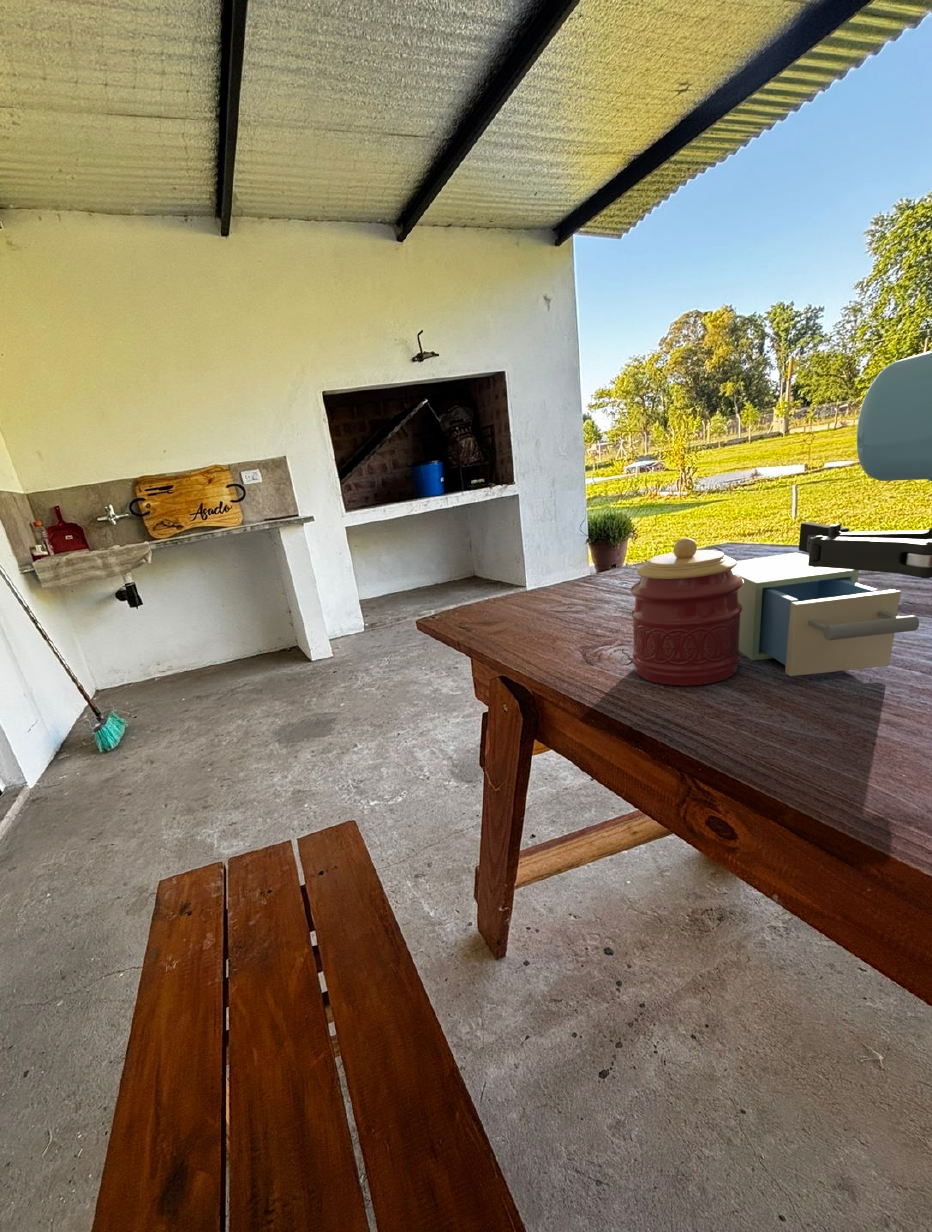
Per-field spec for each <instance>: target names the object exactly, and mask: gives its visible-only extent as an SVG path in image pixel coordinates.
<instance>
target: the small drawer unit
mask: <svg viewBox="0 0 932 1232" xmlns="http://www.w3.org/2000/svg"><path fill="white" fill-rule="evenodd" d="M735 561H736V566H735V567H734V568H732V571H733V573H734V574H736V575H738V576H740V577H741V578H742V579H743V581H744V583H743V585H742V586H741V587H740V588H739V589H738V602H739V603H740V604H741V605H742V611H741V613H740V633H739V650H740V654H743V655H744V656H745V657H747V659H749V660H751V661H760V660H770V659H774V658H773V657H772V656H770V655H769V654H767V653H766V652H764V651H763V650H761V649H760V648H759V641H760V624H761V608H762V591H763V589H762V588H768V587H776V586H783V585H791V584H798V583H806V582H813V581H821V580H828V579H836V578H842V579H845V580H849V581H852V582H855V583H859V582H858V581H859V573H860V570H850V569H837V568H825V567H812V566H808V561H809V555H807V554H803V553H800V552H789V553H784V554H783V553H782V554H777V555H769V556H762V557H756V558H755V557H754V558H748V559H741V560H735Z"/></svg>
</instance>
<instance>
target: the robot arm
mask: <svg viewBox="0 0 932 1232" xmlns="http://www.w3.org/2000/svg"><path fill="white" fill-rule="evenodd" d="M856 451H857V457H858V462H859V464H860V467H861V468H862V470H863V472H864V473H865V474H866V475H867V476H868V477H869V478H871V479H874V480H877V481H879V482H880V481H881V482H894V481H895V482H896V481H897V482H898V481H916V480H926V481H927V480H928V481H930V482H932V349H931V350H930V351H926V352H923V353H919V354H916V355H913V356H909V357H906V358H903V359H899V360H896V361H894V362H892V363H890V364H888V365H887V366H885V367H884V368H883V369H882V370H881V371H880V372H879V373H878V374H877V375H876V376H875V378H874V379H873V381H872V383H871V384H870V386H869V388H868V390H867V391H866V393H865V396H864V398H863V402H862V404H861V407H860V411H859V415H858V421H857V428H856ZM799 528H800V529H799V540H798V541H799V542H798V551H800V552H804V553H807V554H808V556H809V561H808V566H812V567H825V568H837V569H850V570H859V571H861V572H862V571H864V572H876V573H887V574H888V573H890V574H898V575H899V574H900V575H905V576H911V577H915V578H920V579H924V580H925V579H931V578H932V527H931V528H930V529H927V530H925V529H923V530H887V531H886V530H881V531H880V530H879V531H875V530H874V531H850V528H849V527H842V523H834V524H833V523H832V524H823V523H817V522H811V521H807V522H801V523H800V527H799Z"/></svg>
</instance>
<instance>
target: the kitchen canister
mask: <svg viewBox="0 0 932 1232" xmlns="http://www.w3.org/2000/svg"><path fill="white" fill-rule="evenodd" d="M736 561H737V560H735V558H731V557H729V556H727V555H725V553H724V552H722V551H719V550H711V549H698V547H697V543H696V541H695V540H694V539H693V538H689V537H683V538H681V539H678V540H677V541H676V542H675V543H674V546H673V552H669V553H668V552H667V553H664V554H659V555H656V556H653V557H651V558H650V559H648V561H647V562H646V563H644V564H643V565H641V566H640V567H638V568H637V570H636V574H637V575H638V576H640V578H639V580H638V581H636V582H635V583H633V585H632V586H631V588H630V593H631V594H632V595H633V596H634V597H635V600H634V608H633V609H632V610H631V613H630V615H631V617H632V633H633V634H632V635H633V637H632V638H633V651H632V664H633V666H634V671H635V673H636V675H638V676H639V677H641V678H642V679H644V680H646V681H649V682H653V683H656V684H662V685H668V686H680V687H681V686H682V687H683V686H702V685H708V684H715V683H719V682H722V681H725V680H727V679H728V678H730V677H733V675H735V674H736V672H737V671H738V665H739V663H740V661H741V657H740V656H741V652H740V650H739V633H740V613H741V611H742V605H741V604H740V603H739V602H738V589H739V588H740V587H741V586H742V585H743V583H744V581H743V579H742V578H741V577H740V576H738V575H736V574H734V573H733V571H732V568H734V567H735V566H736Z"/></svg>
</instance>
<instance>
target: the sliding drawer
mask: <svg viewBox="0 0 932 1232" xmlns="http://www.w3.org/2000/svg"><path fill="white" fill-rule="evenodd" d="M762 589H763V591H762V608H761V624H760V641H759V648H760V649H761V650H763V651H764V652H766V653H767V654H769V655H770V656H772V657H773V658H772V659H775V660H776V661H778V662H779V663H781V664H782V665H784V667H785V674H786V675H788V676H789V677H795V676H804V675H805V676H806V675H817V674H824V673H825V674H826V673H833V672H834V673H835V672H844V671H854V670H855V671H856V670H864V669H872V668H882V667H889V666H890V664H891V657H892V653H893V652H892V650H893V645H894V638H895V634H897V633H906V632H907V633H908V632H915V631H917V630H918V629H919V627H920V620H919V618H918V616H916V615H905V616H900V615H898V613H899V606H900V601H901V590H896V589H887V590H885V589H884V590H879V589H878V588H874V587H871V586H868V585H864V584H861V583H859V582H857V583H855V582H852V581H849V580H845V579H842V578H836V579H828V580H821V581H813V582H806V583H798V584H791V585H783V586H776V587H768V588H762Z"/></svg>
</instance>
